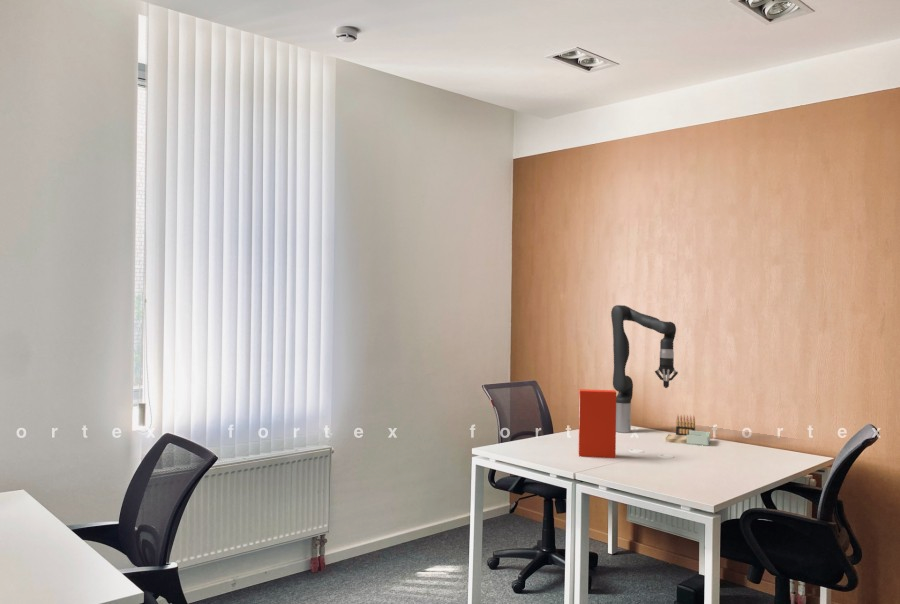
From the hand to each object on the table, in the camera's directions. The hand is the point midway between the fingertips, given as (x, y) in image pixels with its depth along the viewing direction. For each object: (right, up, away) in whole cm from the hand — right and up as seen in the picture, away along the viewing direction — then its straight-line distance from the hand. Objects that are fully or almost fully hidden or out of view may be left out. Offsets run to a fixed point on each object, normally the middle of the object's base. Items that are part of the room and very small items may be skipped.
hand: (666, 387), depth 374 cm
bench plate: (+5, -29, -5) cm, 30 cm away
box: (+15, -29, -10) cm, 34 cm away
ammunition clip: (+15, -30, +12) cm, 35 cm away
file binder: (-50, -27, -48) cm, 75 cm away
